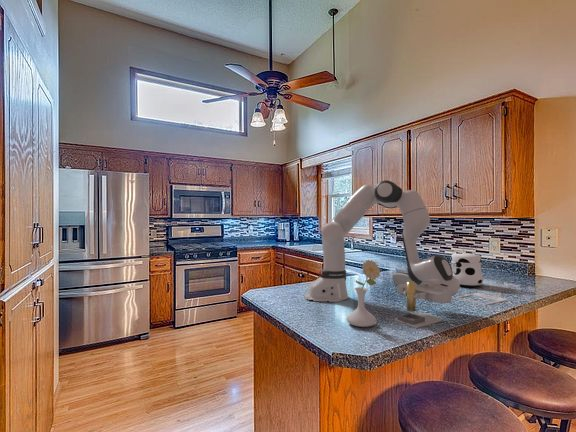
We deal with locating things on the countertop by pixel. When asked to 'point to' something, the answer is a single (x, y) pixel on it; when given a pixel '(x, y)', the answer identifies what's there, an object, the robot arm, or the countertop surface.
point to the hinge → (401, 278)
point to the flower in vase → (361, 314)
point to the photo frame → (483, 297)
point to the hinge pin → (411, 296)
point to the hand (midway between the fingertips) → (409, 295)
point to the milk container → (467, 269)
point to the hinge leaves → (417, 319)
